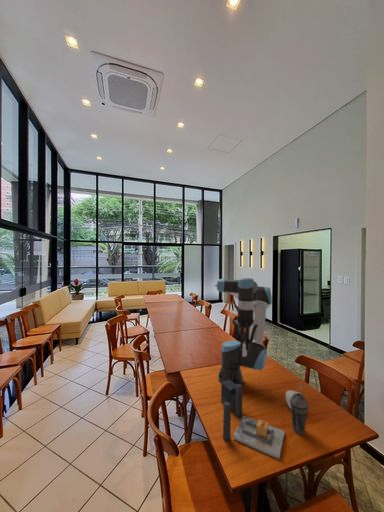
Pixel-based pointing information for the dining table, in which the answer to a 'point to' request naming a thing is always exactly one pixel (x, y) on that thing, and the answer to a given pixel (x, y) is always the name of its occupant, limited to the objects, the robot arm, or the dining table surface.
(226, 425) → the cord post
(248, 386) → the dining table surface
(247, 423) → the breaker panel
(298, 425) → the beverage cup
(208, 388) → the dining table surface
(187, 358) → the dining table surface
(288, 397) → the cup
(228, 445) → the dining table surface
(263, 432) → the block
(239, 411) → the cord post
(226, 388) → the box
